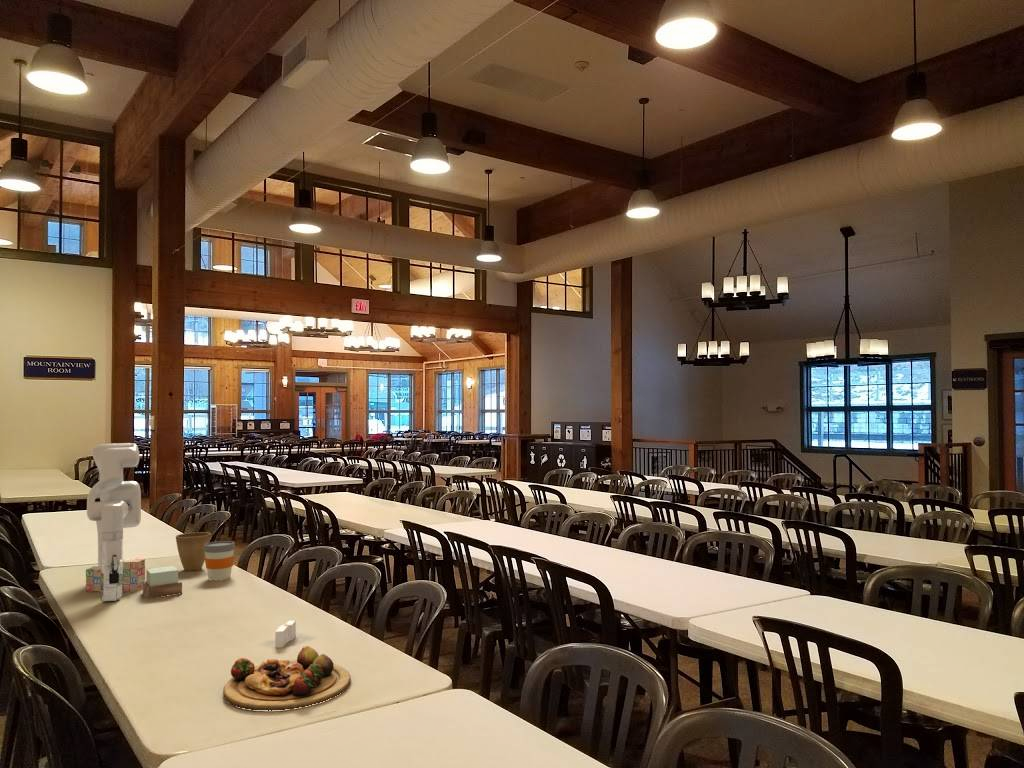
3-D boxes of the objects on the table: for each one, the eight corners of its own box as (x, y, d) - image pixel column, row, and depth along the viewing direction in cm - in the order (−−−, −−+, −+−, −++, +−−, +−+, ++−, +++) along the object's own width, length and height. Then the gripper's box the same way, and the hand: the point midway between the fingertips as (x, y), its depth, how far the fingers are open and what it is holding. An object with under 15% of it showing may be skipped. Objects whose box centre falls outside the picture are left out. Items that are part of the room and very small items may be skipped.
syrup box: (107, 597, 290) (107, 560, 290) (123, 597, 290) (123, 559, 290) (100, 601, 284) (100, 563, 284) (116, 600, 285) (116, 563, 285)
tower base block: (142, 594, 299) (142, 581, 299) (174, 589, 306) (174, 577, 306) (149, 600, 289) (149, 587, 289) (182, 595, 296) (182, 582, 297)
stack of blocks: (85, 592, 302) (85, 561, 303) (94, 588, 308) (94, 558, 309) (137, 591, 302) (137, 561, 302) (145, 587, 308) (145, 558, 309)
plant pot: (213, 569, 341) (213, 534, 341) (178, 574, 332) (179, 538, 333) (206, 564, 353) (206, 530, 353) (172, 568, 345) (172, 534, 345)
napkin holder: (279, 652, 225) (279, 633, 225) (256, 645, 231) (256, 627, 231) (318, 639, 237) (318, 621, 237) (295, 633, 244) (295, 615, 244)
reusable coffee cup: (197, 580, 320) (197, 545, 321) (219, 574, 332) (219, 540, 332) (220, 582, 316) (220, 547, 316) (241, 576, 327) (241, 541, 328)
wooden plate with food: (194, 703, 186) (194, 670, 186) (277, 661, 215) (277, 632, 216) (301, 724, 174) (301, 689, 174) (373, 676, 204) (373, 645, 204)
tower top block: (146, 581, 299) (146, 569, 299) (173, 578, 305) (173, 565, 305) (150, 586, 291) (150, 573, 291) (178, 582, 296) (178, 570, 297)
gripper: (97, 533, 292) (97, 578, 292) (105, 540, 278) (105, 587, 278) (118, 531, 297) (118, 575, 296) (127, 537, 283) (127, 584, 283)
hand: (112, 581), depth 287 cm, fingers closed on syrup box, 7 cm apart
